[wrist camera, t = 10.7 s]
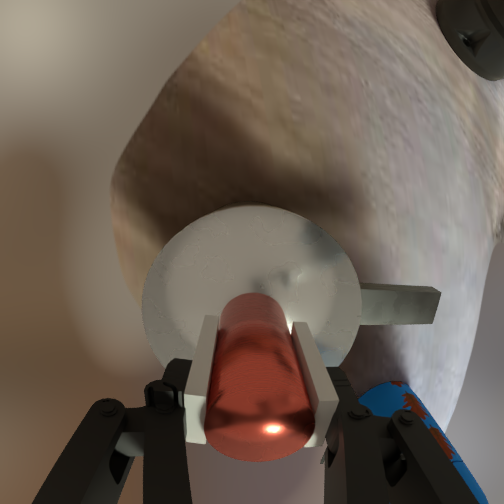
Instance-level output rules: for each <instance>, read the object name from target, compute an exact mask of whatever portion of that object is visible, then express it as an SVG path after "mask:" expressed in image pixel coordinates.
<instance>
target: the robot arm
mask: <svg viewBox="0 0 504 504" xmlns="http://www.w3.org/2000/svg"><path fill="white" fill-rule="evenodd" d="M436 14H437V19H438V22H439V25H440V27H441V29H442V32H443V34H444V35H445V37H446V39H447V41H448V42H449V44H450V45H451V47H452V48H453V50H454V51H455V52H456V54H457V55H458V56H459V57H460V59H461V60H462V61H463V62H464V63H465V64H466V65H467V66H468V67H469V68H470V69H471V70H472V71H474V72H475V73H476V74H478V75H479V76H481V77H483V78H485V79H487V80H490V81H497V80H500V79H504V0H438V2H437V5H436ZM218 328H219V316H212V315H205V317H204V320H203V324H202V328H201V331H200V335H199V339H198V342H197V346H196V350H195V354H194V357H193V360H187V359H179V358H174V359H173V360H171V361H170V362H169V363H168V364H167V367H166V369H165V372H164V375H163V378H162V380H156V381H153V382H150V383H149V384H148V385H146V387H145V389H144V394H145V401H146V406H143V407H139V408H125V407H124V405H123V404H122V403H121V402H120V401H118V400H116V399H111V398H106V399H101V400H98V401H96V402H95V403H94V404H93V405H92V406H91V408H90V409H89V411H88V413H87V414H86V416H85V417H84V419H83V420H82V422H81V423H80V425H79V426H78V428H77V430H76V431H75V433H74V434H73V436H72V438H71V439H70V441H69V442H68V444H67V445H66V447H65V449H64V450H63V452H62V453H61V455H60V457H59V458H58V460H57V462H56V463H55V465H54V467H53V468H52V470H51V471H50V473H49V475H48V476H47V478H46V480H45V482H44V483H43V485H42V487H41V488H40V490H39V492H38V494H37V495H36V497H35V499H34V501H33V502H32V504H117V503H118V500H119V497H120V495H121V492H122V489H123V487H124V484H125V482H126V479H127V476H128V474H129V471H130V469H131V466H132V463H133V461H134V459H135V456H144V460H143V504H192V497H191V490H190V482H189V474H188V466H187V456H186V446H185V440H186V441H187V442H192V443H200V444H205V443H206V437H205V434H204V421H205V416H206V409H207V402H208V396H209V389H210V382H211V376H212V369H213V362H214V356H215V349H216V343H217V337H218ZM291 338H292V341H293V345H294V348H295V351H296V355H297V358H298V362H299V365H300V368H301V372H302V375H303V379H304V382H305V386H306V389H307V393H308V396H309V400H310V403H311V407H312V410H313V414H314V417H315V430H314V433H313V435H312V437H311V438H310V440H309V441H308V442H307V443H306V444H305V445H304V447H317V446H322V444H323V442H324V440H325V438H326V441H327V444H328V446H327V448H326V451H325V453H324V455H323V457H322V460H321V463H320V464H323V462H324V460H325V483H324V504H479V502H478V501H477V499H476V497H475V496H474V494H473V493H472V491H471V490H470V488H469V487H468V485H467V484H466V482H465V481H464V479H463V478H462V476H461V475H460V473H459V472H458V471H457V469H456V468H455V466H454V465H453V463H452V462H451V460H450V459H449V457H448V456H447V455H446V453H445V452H444V450H443V449H442V447H441V446H440V445H439V443H438V442H437V440H436V439H435V437H434V436H433V435H432V433H431V432H430V430H429V429H428V428H427V426H426V425H425V423H424V422H423V421H422V419H421V418H420V417H419V416H418V415H417V414H416V413H415V412H413V411H411V410H407V409H399V410H397V411H395V412H394V413H393V414H392V416H391V417H382V416H376V415H373V413H372V411H371V410H370V409H369V408H368V407H366V406H364V405H362V404H360V403H359V401H358V399H357V397H356V395H355V393H354V391H353V389H352V387H351V385H350V383H349V381H348V379H347V376H346V374H345V373H344V372H343V371H342V370H341V369H340V368H339V367H325V364H324V362H323V360H322V357H321V355H320V353H319V350H318V348H317V346H316V343H315V341H314V338H313V336H312V334H311V331H310V329H309V327H308V324H307V322H295V321H293V324H292V330H291ZM389 502H390V503H389Z"/></svg>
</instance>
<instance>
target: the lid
mask: <svg viewBox="0 0 504 504" xmlns="http://www.w3.org/2000/svg"><path fill="white" fill-rule="evenodd" d="M361 311H362V298H361V289H360V285H359V281H358V277H357V274H356V272H355V269H354V267H353V265H352V263H351V261H350V259H349V258H348V256H347V254H346V253H345V251H344V250H343V249H342V247H341V246H340V245H339V244H338V243H337V241H336V240H335V239H334V238H333V237H331V236H330V235H329V234H328V233H327V232H326V231H325V230H323V229H322V228H320V227H319V226H317V225H316V224H314V223H313V222H311V221H310V220H308V219H306V218H304V217H302V216H300V215H298V214H296V213H294V212H291V211H288V210H285V209H281V208H278V207H272V206H266V205H239V206H231V207H227V208H223V209H219V210H216V211H214V212H211V213H209V214H206V215H204V216H202V217H200V218H199V219H197V220H195V221H193V222H192V223H190V224H189V225H188V226H186V227H185V228H184V229H182V230H181V231H180V232H179V233H177V234H176V235H175V236H174V237H173V238H172V239H171V240H170V241H169V242H168V243H167V244H166V245H165V246H164V247H163V249H162V250H161V251H160V253H159V254H158V256H157V257H156V258H155V260H154V262H153V264H152V266H151V268H150V270H149V272H148V275H147V278H146V281H145V284H144V289H143V295H142V318H143V325H144V329H145V332H146V336H147V339H148V341H149V343H150V346H151V348H152V350H153V351H154V353H155V355H156V357H157V358H158V360H159V361H160V362H161V364H162V365H163V366H164V368H165V369H166V367H167V364H168V363H169V362H170V361H171V360H173V359H174V358H179V359H187V360H193V357H194V354H195V350H196V346H197V342H198V339H199V335H200V331H201V328H202V324H203V320H204V317H205V315H212V316H219V328H218V337H217V343H216V349H215V356H214V362H213V369H212V376H211V382H210V389H209V396H208V402H207V409H206V416H205V421H204V434H205V437H206V439H207V440H208V442H209V443H210V444H211V445H212V446H213V447H214V448H215V449H216V450H217V451H219V452H220V453H222V454H224V455H226V456H228V457H231V458H234V459H238V460H243V461H251V462H262V461H271V460H275V459H280V458H283V457H285V456H288V455H290V454H292V453H294V452H296V451H298V450H299V449H300V448H302V447H303V446H304V445H305V444H306V443H307V442H308V441H309V440H310V438H311V437H312V435H313V433H314V430H315V417H314V414H313V410H312V407H311V403H310V400H309V396H308V393H307V389H306V386H305V382H304V379H303V375H302V372H301V368H300V365H299V362H298V358H297V355H296V351H295V348H294V345H293V341H292V338H291V330H292V324H293V321H295V322H307V324H308V327H309V329H310V331H311V334H312V336H313V338H314V341H315V343H316V346H317V348H318V350H319V353H320V355H321V357H322V360H323V362H324V364H325V367H338V366H339V365H340V364H341V363H342V361H343V360H344V358H345V357H346V355H347V354H348V352H349V351H350V349H351V347H352V345H353V343H354V340H355V338H356V335H357V332H358V329H359V325H360V319H361Z"/></svg>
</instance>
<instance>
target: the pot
mask: <svg viewBox="0 0 504 504" xmlns="http://www.w3.org/2000/svg"><path fill="white" fill-rule="evenodd" d="M239 205H266V206H272V205H269V204H265V203H262V202H255V201H242V202H235V203H231V204H228V205H225V206H223V207H221V208H219V209H223V208H227V207H231V206H239ZM272 207H274V206H272ZM219 209H217V210H219ZM215 211H216V210H215ZM359 285H360V289H361V298H362V311H361V319H360V325H407V324H432V323H433V320H434V317H435V314H436V310H437V307H438V303H439V300H440V296H441V292H440V291H438V290H437V289H435V288H433V287H428V286H408V285H389V284H372V283H359Z"/></svg>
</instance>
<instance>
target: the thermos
mask: <svg viewBox="0 0 504 504" xmlns="http://www.w3.org/2000/svg"><path fill="white" fill-rule="evenodd" d="M358 401H359V403H360V404H362V405H364V406H366V407H368V408H369V409H370V410H371V411H372V413H373V415H376V416H382V417H391V416H392V414H393V413H394V412H395V411H397V410H399V409H407V410H411V411H413V412H415V413H416V414H417V415H418V416H419V417H420V418H421V419H422V421H423V422H424V423H425V425H426V426H427V428H428V429H429V430H430V432H431V433H432V435H433V436H434V437H435V439H436V440H437V442H438V443H439V445H440V446H441V447H442V449H443V450H444V452H445V453H446V455H447V456H448V457H449V459H450V460H451V462H452V463H453V465H454V466H455V468H456V469H457V471H458V472H459V473H460V475H461V476H462V478H463V479H464V481H465V482H466V484H467V485H468V487H469V488H470V490H471V491H472V493H473V494H474V496H475V497H476V499H477V501H478V502H479V504H488V501H487V499H486V496H485V494H484V493H483V491H482V490H481V488H480V486H479V485H478V483H477V482H476V480H475V479H474V477H473V475H472V474H471V472H470V471H469V470H468V468H467V466H466V465H465V463H464V462H463V460H462V459H461V457H460V456H459V454H458V453H457V451H456V450H455V448H454V447H453V446H452V444H451V443H450V441H449V440H448V438H447V437H446V436H445V434H444V433H443V431H442V430H441V428H440V427H439V425H438V424H437V423H436V421H435V420H434V418H433V417H432V416H431V414H430V413H429V411H428V410H427V409H426V407H425V406H424V404H423V403H422V402H421V400H420V399H419V398H418V397H417V395H416V394H415V393H414V392H413V391H412V390H411V388H410V387H409V386H408V385H407V384H405V383H403V382H400V381H390V382H387V383H383V384H380V385H378V386H376V387H374V388H372V389H370V390H369V391H367V392H366V393H365V394H364V395H363V396H361V397H360V398H359V399H358ZM389 503H390V502H389Z"/></svg>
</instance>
